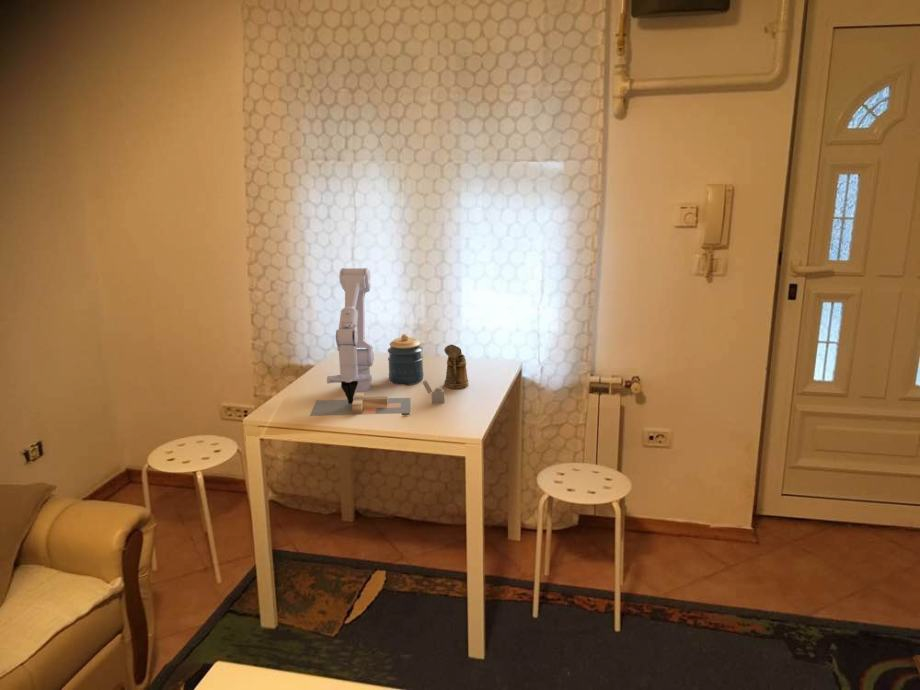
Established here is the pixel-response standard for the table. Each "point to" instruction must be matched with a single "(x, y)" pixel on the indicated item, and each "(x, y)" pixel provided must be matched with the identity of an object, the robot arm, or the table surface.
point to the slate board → (346, 409)
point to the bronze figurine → (455, 368)
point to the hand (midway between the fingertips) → (350, 402)
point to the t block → (368, 402)
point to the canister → (405, 361)
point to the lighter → (435, 394)
